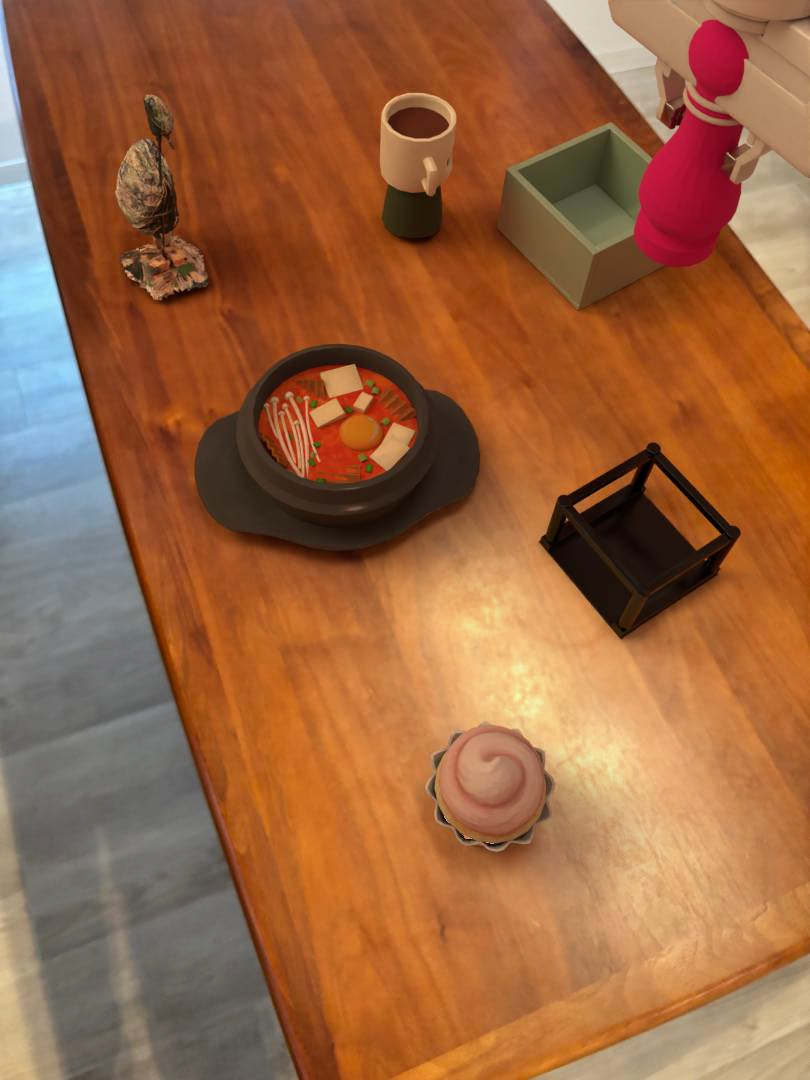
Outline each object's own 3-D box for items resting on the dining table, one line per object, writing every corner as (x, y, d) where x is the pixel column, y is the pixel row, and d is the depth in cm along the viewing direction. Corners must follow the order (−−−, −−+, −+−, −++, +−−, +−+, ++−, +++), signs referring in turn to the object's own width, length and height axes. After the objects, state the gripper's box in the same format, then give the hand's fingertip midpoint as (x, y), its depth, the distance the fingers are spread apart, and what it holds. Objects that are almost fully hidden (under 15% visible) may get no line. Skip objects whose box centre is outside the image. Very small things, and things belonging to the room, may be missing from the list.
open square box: (595, 181, 110) (611, 121, 103) (678, 258, 104) (701, 201, 98) (496, 227, 105) (505, 168, 99) (577, 311, 100) (593, 254, 94)
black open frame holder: (633, 486, 91) (654, 438, 84) (716, 577, 86) (746, 533, 80) (537, 544, 87) (552, 498, 81) (619, 641, 83) (642, 601, 76)
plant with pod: (191, 216, 104) (159, 37, 87) (215, 295, 99) (186, 121, 82) (112, 231, 103) (63, 52, 85) (133, 312, 97) (85, 138, 80)
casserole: (208, 583, 83) (195, 532, 76) (187, 405, 92) (173, 344, 85) (499, 538, 87) (513, 485, 79) (452, 371, 96) (461, 309, 88)
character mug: (459, 254, 103) (473, 148, 92) (393, 266, 102) (398, 160, 91) (429, 182, 108) (438, 74, 97) (365, 192, 107) (367, 84, 96)
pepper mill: (727, 274, 76) (831, 27, 58) (631, 272, 76) (706, 24, 58) (714, 205, 79) (808, -47, 62) (622, 203, 79) (691, -50, 61)
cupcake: (537, 740, 78) (560, 693, 69) (551, 864, 73) (578, 830, 65) (417, 743, 77) (425, 697, 69) (423, 868, 73) (433, 835, 64)
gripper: (949, 24, 55) (843, 220, 67) (692, -149, 63) (639, 54, 75) (871, 63, 53) (776, 257, 65) (616, -120, 61) (574, 83, 73)
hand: (701, 147), depth 70 cm, fingers closed on pepper mill, 5 cm apart
